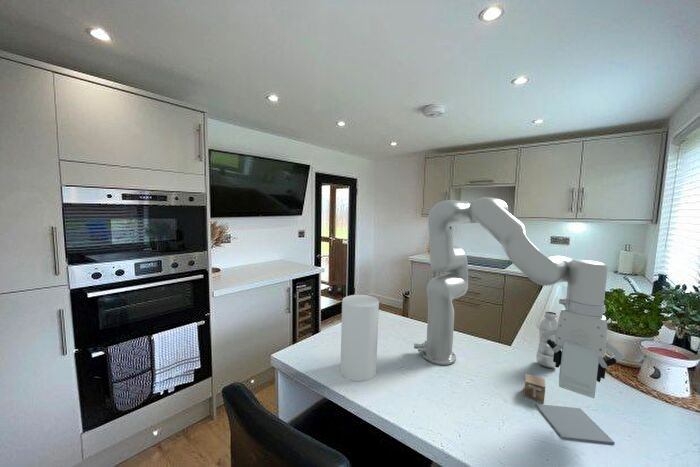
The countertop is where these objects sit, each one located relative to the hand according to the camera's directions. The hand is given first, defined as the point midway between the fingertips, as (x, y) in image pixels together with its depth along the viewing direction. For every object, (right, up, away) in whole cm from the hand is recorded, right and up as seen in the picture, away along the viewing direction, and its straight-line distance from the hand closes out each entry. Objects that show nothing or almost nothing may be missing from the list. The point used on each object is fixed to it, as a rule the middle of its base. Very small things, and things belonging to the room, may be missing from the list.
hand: (577, 372), depth 74 cm
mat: (0, -14, +1) cm, 15 cm away
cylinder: (-57, -11, +23) cm, 63 cm away
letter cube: (-3, -13, +13) cm, 19 cm away
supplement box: (0, -4, +1) cm, 4 cm away
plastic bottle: (+13, -13, +30) cm, 35 cm away
